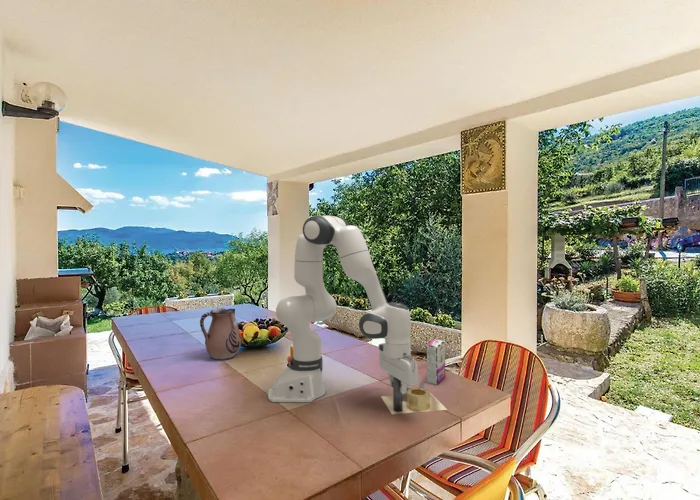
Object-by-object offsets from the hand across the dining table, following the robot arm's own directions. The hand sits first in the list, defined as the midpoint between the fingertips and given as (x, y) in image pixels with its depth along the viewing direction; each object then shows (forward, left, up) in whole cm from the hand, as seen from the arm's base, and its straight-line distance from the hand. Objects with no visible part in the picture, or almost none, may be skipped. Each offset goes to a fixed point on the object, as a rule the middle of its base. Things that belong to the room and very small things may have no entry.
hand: (397, 389), depth 128 cm
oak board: (+7, +4, -9) cm, 12 cm away
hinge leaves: (+8, +4, -7) cm, 11 cm away
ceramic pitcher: (-72, +77, -9) cm, 106 cm away
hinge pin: (0, 0, -7) cm, 7 cm away
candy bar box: (+26, +28, -9) cm, 39 cm away
